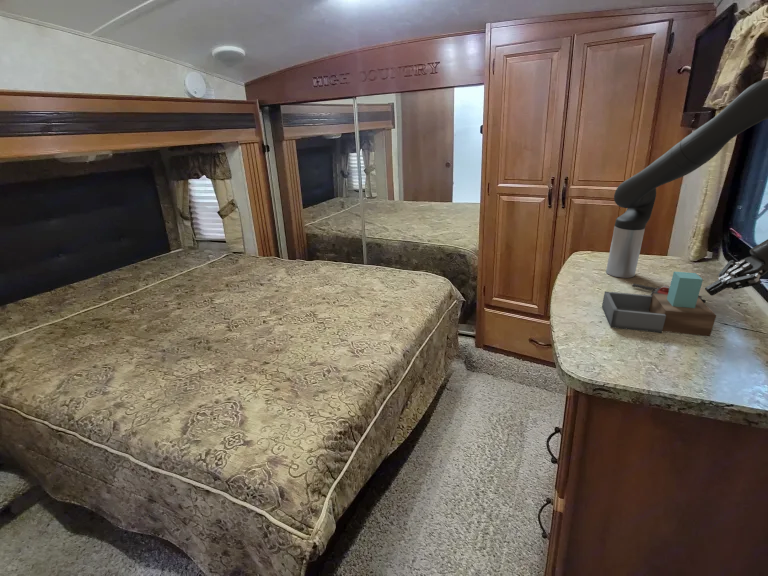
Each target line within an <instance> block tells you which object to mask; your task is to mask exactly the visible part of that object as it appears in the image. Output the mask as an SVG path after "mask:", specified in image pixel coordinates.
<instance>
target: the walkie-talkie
mask: <svg viewBox="0 0 768 576" xmlns="http://www.w3.org/2000/svg"><path fill="white" fill-rule="evenodd" d="M632 287H634V288H638V289H642V290H643V289H644V290H647V291H652V292H651V294H650V295H651V296H652V295H653V293H654V294H665V295H668V292H669V288H670V285H662V286H659V287H653V286H648V285H642V284H637V283H632ZM698 297H699V298H700V299H701V300H702V301H703V302H704V303H705V304H706V303H707V302H706V300H705V299H704V298H703V296H702V295H700V294H699V295H698Z"/></svg>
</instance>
